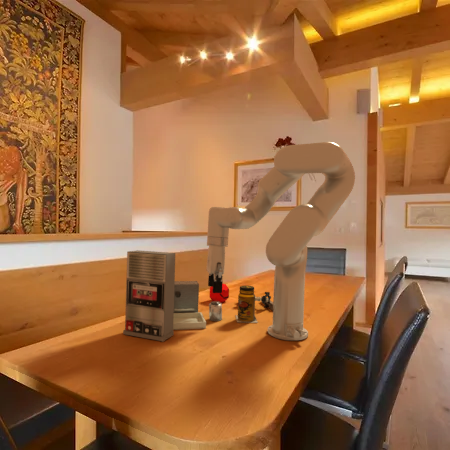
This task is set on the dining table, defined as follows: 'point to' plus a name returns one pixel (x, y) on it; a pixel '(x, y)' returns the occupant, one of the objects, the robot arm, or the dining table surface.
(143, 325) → the cassette tape recorder
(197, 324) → the tray
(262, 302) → the valve rest
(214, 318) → the cylinder
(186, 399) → the dining table surface
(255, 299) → the valve
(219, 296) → the ball
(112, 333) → the dining table surface
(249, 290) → the condiment
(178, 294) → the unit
